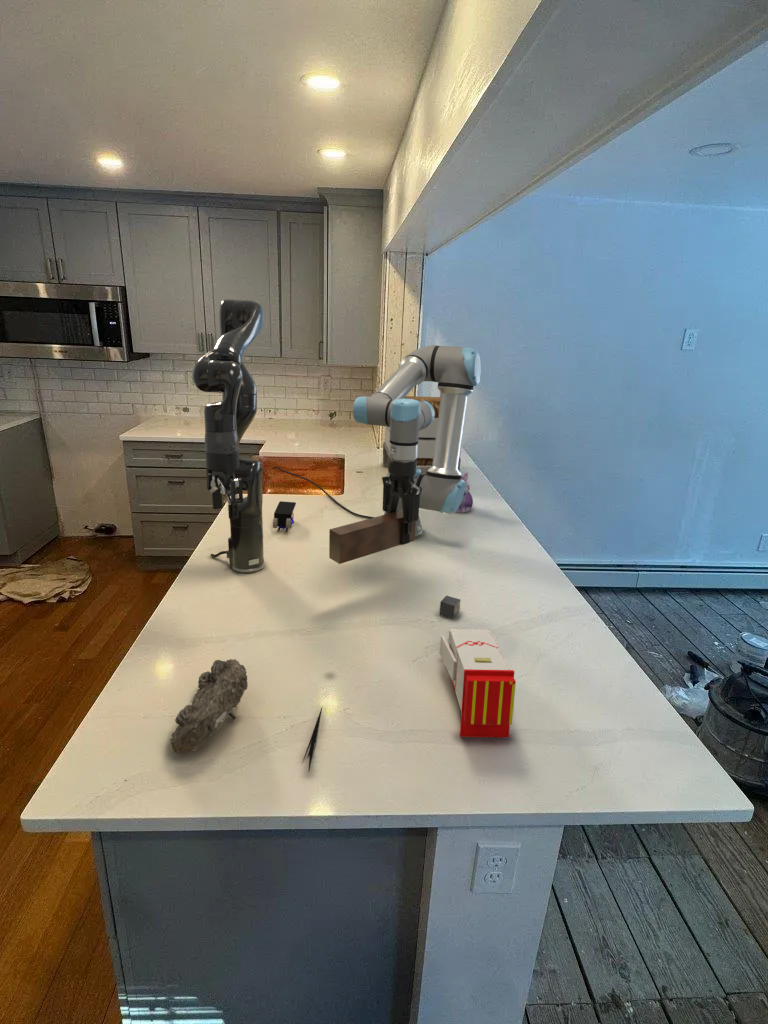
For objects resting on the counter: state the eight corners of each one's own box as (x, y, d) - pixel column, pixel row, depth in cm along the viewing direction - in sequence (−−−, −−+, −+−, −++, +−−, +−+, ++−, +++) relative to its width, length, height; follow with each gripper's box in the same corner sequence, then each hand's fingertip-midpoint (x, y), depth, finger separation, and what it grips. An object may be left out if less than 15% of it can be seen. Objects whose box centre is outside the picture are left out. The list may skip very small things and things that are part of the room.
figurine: (459, 514, 221) (463, 477, 216) (445, 506, 229) (448, 470, 224) (479, 511, 225) (483, 475, 220) (464, 503, 234) (467, 468, 228)
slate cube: (439, 615, 148) (440, 601, 147) (445, 608, 151) (446, 595, 150) (453, 619, 146) (454, 605, 145) (459, 612, 149) (460, 599, 148)
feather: (331, 679, 122) (336, 673, 122) (307, 777, 96) (313, 769, 95) (324, 675, 122) (329, 669, 121) (298, 772, 95) (304, 764, 95)
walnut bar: (339, 564, 142) (340, 534, 140) (329, 558, 146) (329, 529, 143) (414, 540, 158) (416, 513, 156) (403, 535, 162) (405, 509, 159)
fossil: (195, 660, 117) (247, 628, 112) (227, 691, 120) (279, 661, 115) (146, 746, 98) (206, 711, 93) (185, 779, 101) (245, 748, 96)
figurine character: (291, 538, 195) (297, 518, 208) (291, 518, 192) (296, 500, 205) (272, 537, 195) (278, 518, 208) (271, 518, 191) (277, 499, 205)
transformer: (381, 463, 289) (385, 382, 275) (444, 464, 292) (450, 384, 279) (389, 482, 257) (393, 392, 243) (459, 483, 261) (467, 394, 247)
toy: (489, 613, 130) (525, 677, 101) (485, 667, 133) (518, 744, 104) (437, 612, 130) (457, 676, 101) (434, 666, 133) (453, 743, 103)
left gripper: (193, 444, 135) (198, 508, 140) (220, 457, 125) (224, 525, 130) (223, 440, 140) (226, 502, 145) (251, 452, 130) (253, 519, 135)
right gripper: (370, 453, 153) (368, 533, 161) (415, 468, 141) (410, 554, 149) (391, 450, 158) (388, 527, 166) (436, 464, 146) (430, 547, 154)
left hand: (225, 513), depth 138 cm, fingers open, 8 cm apart
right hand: (398, 540), depth 157 cm, fingers closed on walnut bar, 4 cm apart
